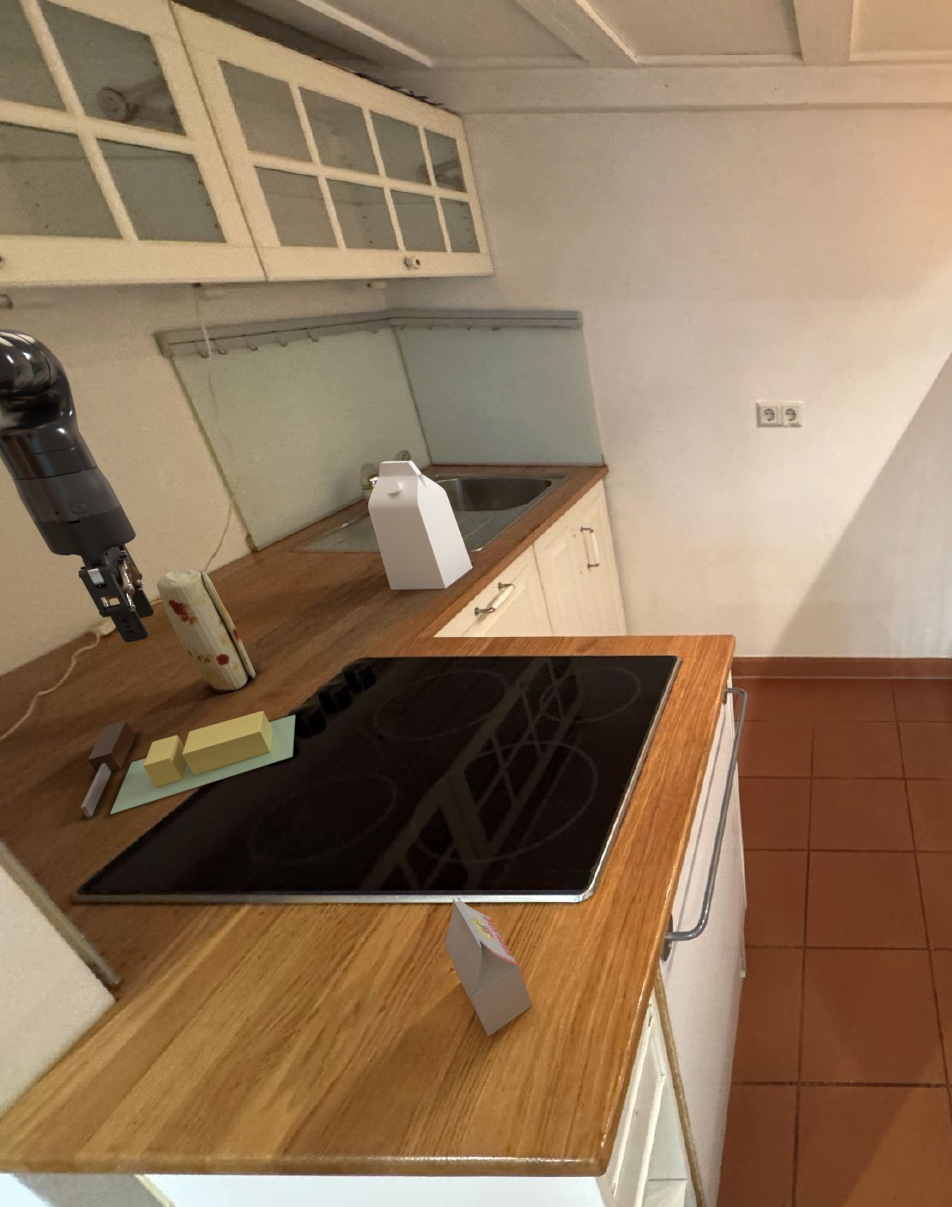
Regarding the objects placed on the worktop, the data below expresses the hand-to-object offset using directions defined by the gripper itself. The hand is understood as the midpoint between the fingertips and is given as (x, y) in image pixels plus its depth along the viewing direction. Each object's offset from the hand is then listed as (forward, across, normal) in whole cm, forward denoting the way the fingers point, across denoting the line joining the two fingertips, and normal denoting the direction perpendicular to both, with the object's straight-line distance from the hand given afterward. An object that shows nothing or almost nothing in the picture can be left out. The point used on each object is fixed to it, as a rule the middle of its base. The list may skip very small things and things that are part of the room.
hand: (141, 627), depth 86 cm
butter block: (+17, +9, +4) cm, 20 cm away
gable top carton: (+18, +68, +22) cm, 74 cm away
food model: (+18, -16, +4) cm, 25 cm away
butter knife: (+18, +3, -9) cm, 21 cm away
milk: (+18, -43, +38) cm, 60 cm away
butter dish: (+18, +9, +2) cm, 20 cm away
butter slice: (+17, +8, -2) cm, 19 cm away
